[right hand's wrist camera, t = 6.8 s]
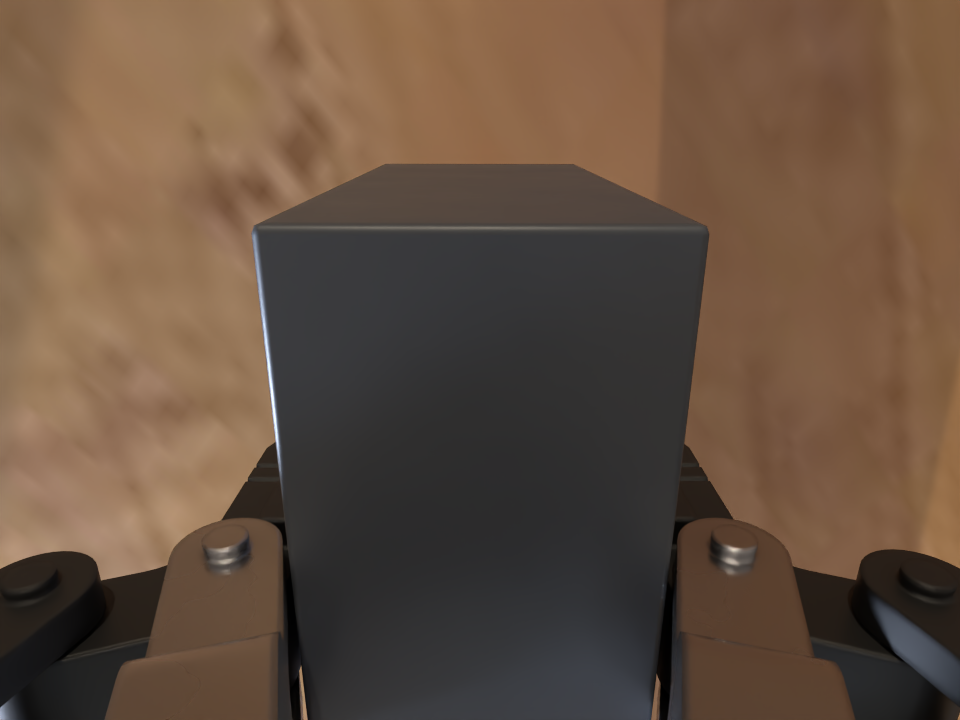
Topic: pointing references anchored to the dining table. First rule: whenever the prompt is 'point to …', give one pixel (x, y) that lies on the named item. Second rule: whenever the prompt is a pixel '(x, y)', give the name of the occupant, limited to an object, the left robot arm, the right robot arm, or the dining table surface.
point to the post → (479, 437)
